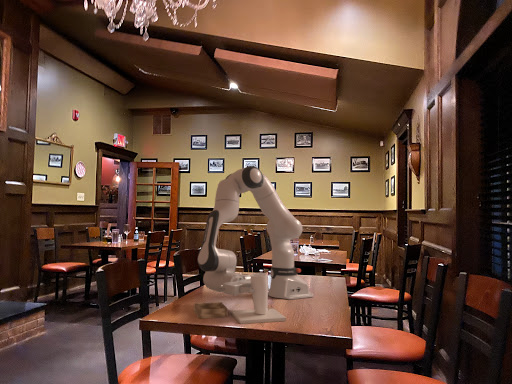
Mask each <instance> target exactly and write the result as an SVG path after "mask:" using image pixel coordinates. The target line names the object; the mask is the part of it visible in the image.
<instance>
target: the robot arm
mask: <svg viewBox="0 0 512 384" xmlns="http://www.w3.org/2000/svg"><path fill="white" fill-rule="evenodd" d="M215 191H216V192H215V197H214V198H215V199H214V207H213V210H212V211H211V212H210V213H209V214H208V216H207V218H206V219H207V220H206V224H205V229H204V232H203V237H202V241H201V242H202V243H201V246H200V249H199V251H198V254H197V260H196V261H197V265H198V266H199V268H200V270H202V271H203V272H205V273H204V274H203V279H202V280H203V281H202V282H203V284H204V286H205V287H206V288H207V289H209V290H212V291H214V292H217V293H223V294H226V295H230V296H239V295H242V294H252V293H253V288H251V279H250V275H251V274H243V273H238V272H237V273H236V269H237V264H238V258H237V255H236V253H235V252H234V251H233V250H228V249H222V248H217V246H216V245H217V240H218V234H219V230H220V227H221V226H222V225H224V224H226V223H231V222H232V221H234V220H235V219H236V218H237V217H238V215H239V212H240V211H239V210H240V195H241V194H243V193H244V194H245V193H247V192H250V193H251V194H252V195H253V198H254V200H255V202H256V203H257V205H258V207H259V209H260V210H261V212H262V214H263V215H264V216H265V217H267V220H268V222H267V223H266V232H267V234H268V236H269V240H270V246H271V253H272V254H271V266H270V267H271V268H270V278H271V279H270V286H269V285H268V296H269V297H272V298H276V299H286V300H297V299H298V300H299V299H307V298H313V297H314V293H313V292H311V291H310V289H309V284H308V282H306V280H305V279H304V278H302V277H301V276H300V275H298V273H301V272H302V269H301V268H297V267H295V251H294V249H293V246H292V243H291V240H296V239H298V238H300V237H301V236H302V234H303V224H302V222H301V221H299V220H298V219H297V218H296V217H295V216H294V215H293V214H292V212H291V211H290V210H289V209H288V208H287V207H286V206H285V204H284V203H283V201H282V199H281V198H280V196H279V194H278V192H277V190H276V189H275V186H274V185H273V184H272V182H271V180H269V178H268V177H267V176H266V174H264V173H262V171H261V170H260V169H259V168H258V167H257V166H254V165H248V166H246V167H241V168H240V169H237V170H236V171H234V172H233V173H230V174H228V175H227V176H226V177H225V178H224V179H222V180H220V181H219V183H218V184H217V188H216V190H215Z"/></svg>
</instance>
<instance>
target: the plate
mask: <svg viewBox="0 0 512 384" xmlns="http://www.w3.org/2000/svg"><path fill="white" fill-rule="evenodd" d="M230 314H231V316H232V317H233V318H234V319H235V320H236V321H237V322H238V323H239V324H240V325H246V324H261V323H274V322H275V323H277V322H287V317H286V316H285V315H283V314H282V313H281V312H279V311H278V310H276V309H275V308H268V312H267V313H265V314H256V313H255V312H254V309H241V310H240V309H239V310H231V312H230Z"/></svg>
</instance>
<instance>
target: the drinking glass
mask: <svg viewBox="0 0 512 384" xmlns="http://www.w3.org/2000/svg"><path fill="white" fill-rule="evenodd" d="M249 275H250V279H251V288H253V293H251V297H252V302H253V310H254V312H255V313H256V314H265V313H267V312H268V309H269V308H268V306H269V305H268V299H269V297H268V296H269V295H268V293H269V288H268V286H269V280H268V279H269V278H268V273H266V272H254V273H251V274H249Z"/></svg>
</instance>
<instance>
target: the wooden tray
mask: <svg viewBox="0 0 512 384" xmlns="http://www.w3.org/2000/svg"><path fill="white" fill-rule="evenodd" d="M193 305H194V308H193V309H194V310H193V311H194V313H195V315H196V318H197V319H198V320H199V319H200V320H201V319H215V318H228V317H229V309H228V308H227V306H226V305H225V304H224V303H223V302H222V301H221V302H219V301H217V302H203V303H202V302H200V303H199V302H198V303H194V304H193Z"/></svg>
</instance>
